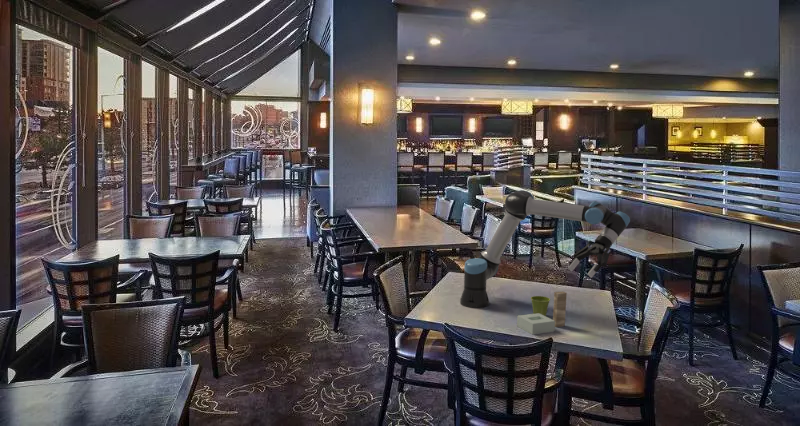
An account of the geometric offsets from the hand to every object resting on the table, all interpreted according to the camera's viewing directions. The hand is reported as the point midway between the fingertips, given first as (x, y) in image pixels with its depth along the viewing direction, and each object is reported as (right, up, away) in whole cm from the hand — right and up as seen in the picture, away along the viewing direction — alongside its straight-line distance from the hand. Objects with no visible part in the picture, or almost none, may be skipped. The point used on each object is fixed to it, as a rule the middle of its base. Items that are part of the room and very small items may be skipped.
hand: (579, 272), depth 252 cm
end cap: (-22, -25, -6) cm, 34 cm away
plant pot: (-15, -23, +14) cm, 31 cm away
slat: (-10, -25, -1) cm, 27 cm away
